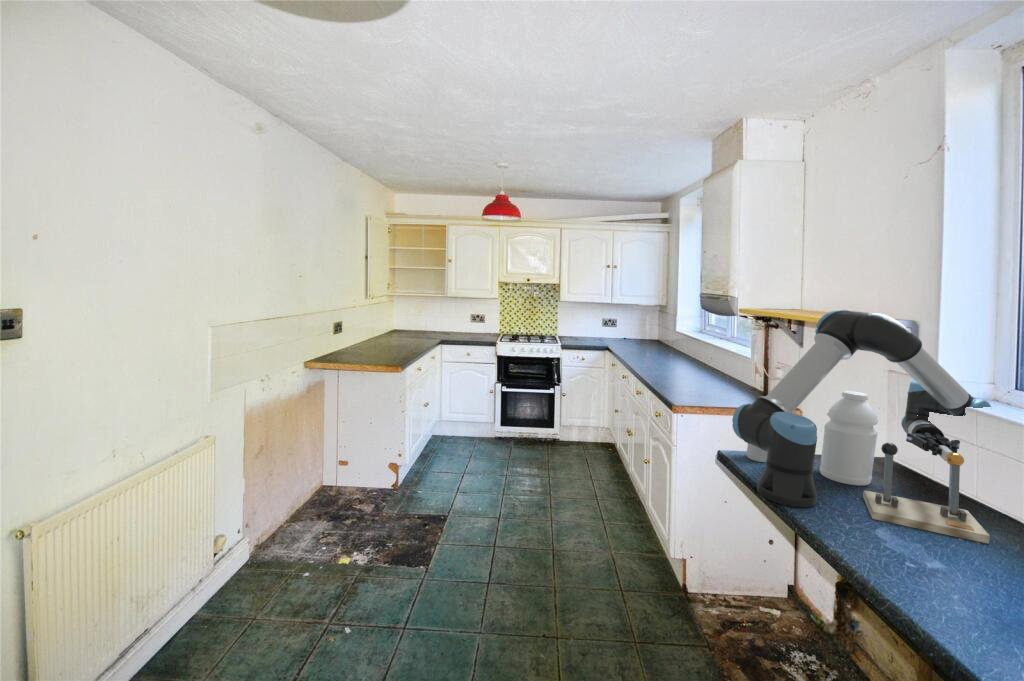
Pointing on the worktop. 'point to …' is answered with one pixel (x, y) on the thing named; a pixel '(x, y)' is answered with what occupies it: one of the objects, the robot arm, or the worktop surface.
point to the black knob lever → (888, 469)
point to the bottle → (849, 440)
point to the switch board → (925, 516)
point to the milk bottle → (756, 453)
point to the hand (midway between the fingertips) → (948, 456)
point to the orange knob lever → (954, 481)
